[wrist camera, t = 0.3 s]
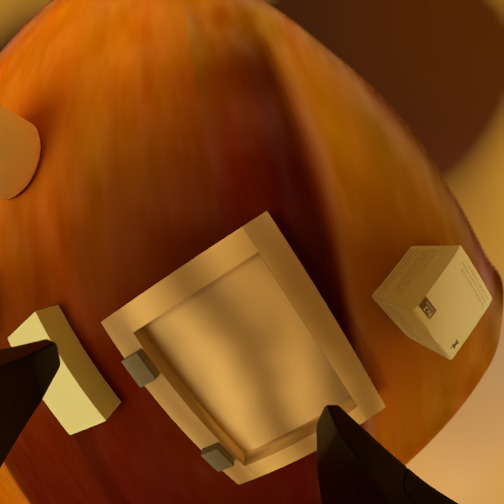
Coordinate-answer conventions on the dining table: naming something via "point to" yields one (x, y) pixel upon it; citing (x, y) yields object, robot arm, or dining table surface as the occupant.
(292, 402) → the carcass
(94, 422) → the cream rectangular block
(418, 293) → the skincare box
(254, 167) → the dining table surface
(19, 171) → the alcohol
